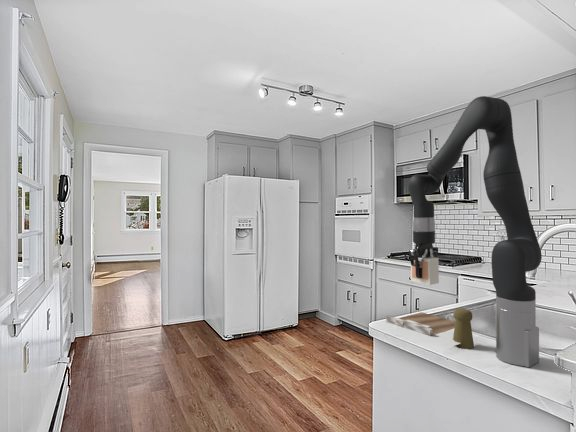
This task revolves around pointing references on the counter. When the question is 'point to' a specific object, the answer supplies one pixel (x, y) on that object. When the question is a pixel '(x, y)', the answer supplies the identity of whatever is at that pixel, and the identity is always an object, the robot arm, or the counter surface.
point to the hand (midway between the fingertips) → (424, 276)
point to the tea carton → (427, 271)
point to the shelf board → (423, 323)
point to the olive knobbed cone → (463, 329)
